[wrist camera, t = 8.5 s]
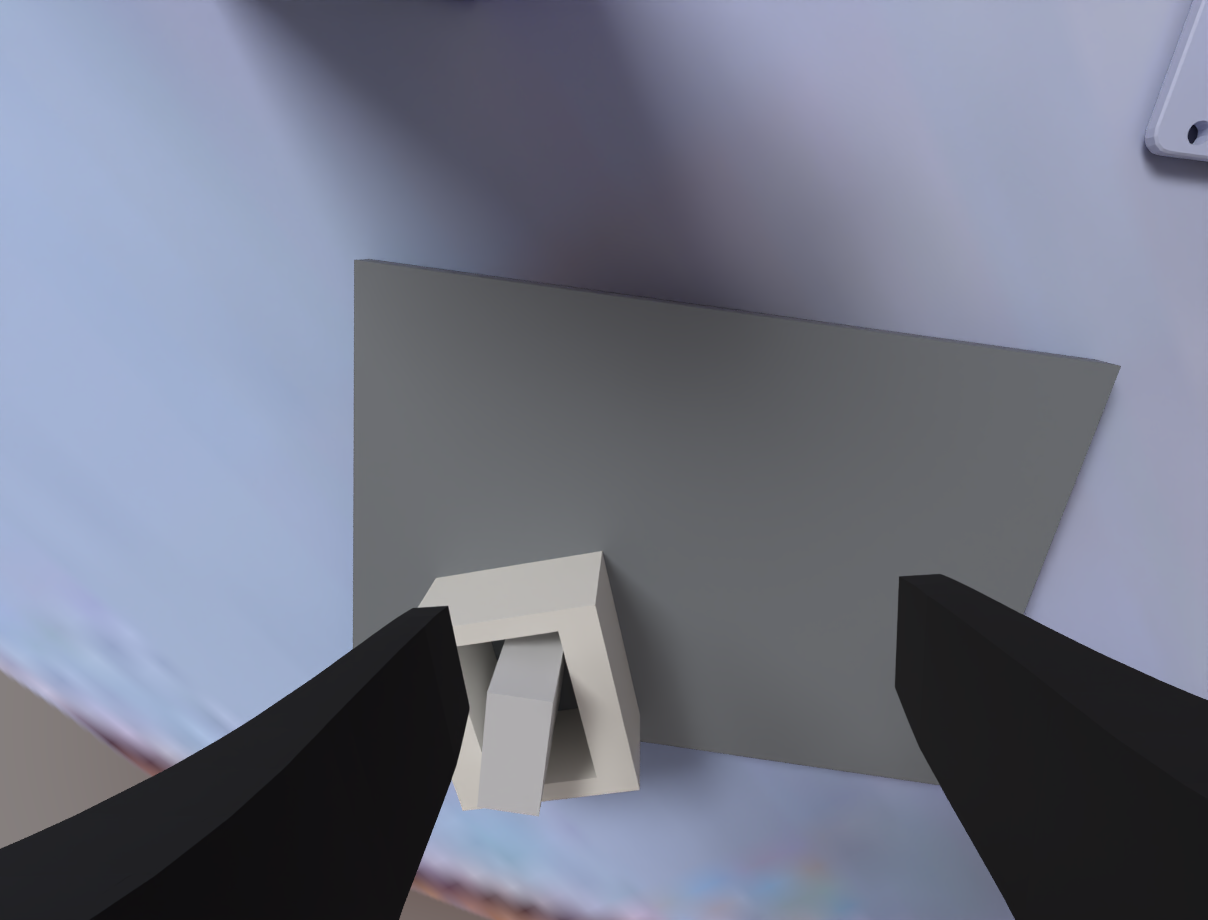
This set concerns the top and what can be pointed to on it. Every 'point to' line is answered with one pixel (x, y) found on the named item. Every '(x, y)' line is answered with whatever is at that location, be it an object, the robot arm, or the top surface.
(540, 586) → the open rectangular frame
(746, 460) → the board
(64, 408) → the top surface
